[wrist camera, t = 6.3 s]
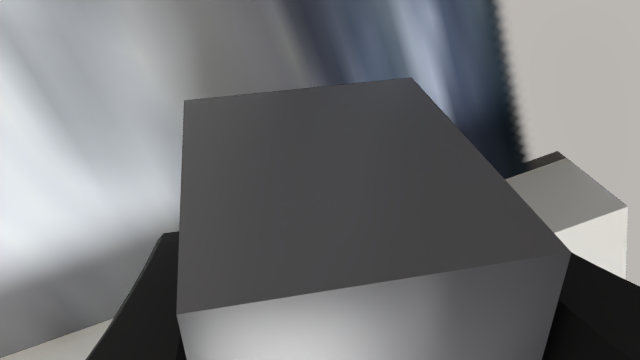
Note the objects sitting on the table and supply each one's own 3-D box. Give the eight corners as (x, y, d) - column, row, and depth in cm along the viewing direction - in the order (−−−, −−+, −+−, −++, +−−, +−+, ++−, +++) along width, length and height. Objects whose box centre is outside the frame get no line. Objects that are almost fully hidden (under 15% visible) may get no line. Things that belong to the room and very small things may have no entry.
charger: (376, 237, 14) (500, 509, 8) (217, 260, 13) (235, 569, 8) (382, 45, 11) (571, 252, 6) (185, 64, 11) (177, 314, 5)
